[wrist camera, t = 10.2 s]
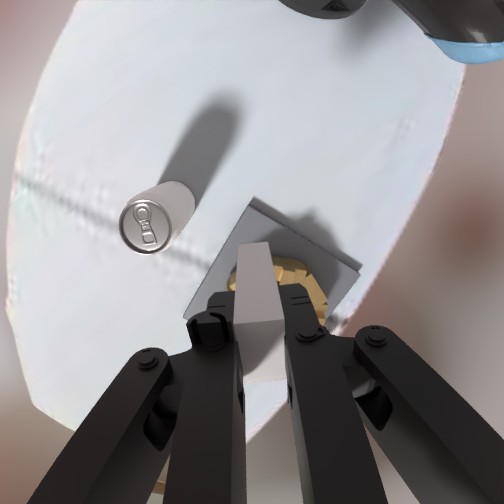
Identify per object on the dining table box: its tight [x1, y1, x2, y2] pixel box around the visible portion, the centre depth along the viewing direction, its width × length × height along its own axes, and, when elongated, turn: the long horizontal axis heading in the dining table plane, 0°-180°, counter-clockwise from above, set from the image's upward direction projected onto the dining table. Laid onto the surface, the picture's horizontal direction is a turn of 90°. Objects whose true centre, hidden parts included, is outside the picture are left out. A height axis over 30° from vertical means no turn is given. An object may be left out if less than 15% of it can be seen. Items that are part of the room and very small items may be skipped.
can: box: [119, 181, 195, 255], centre depth 30 cm, size 6×6×12 cm
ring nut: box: [225, 255, 328, 326], centre depth 39 cm, size 21×14×4 cm, turn 34°
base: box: [183, 205, 360, 320], centre depth 38 cm, size 20×20×8 cm
